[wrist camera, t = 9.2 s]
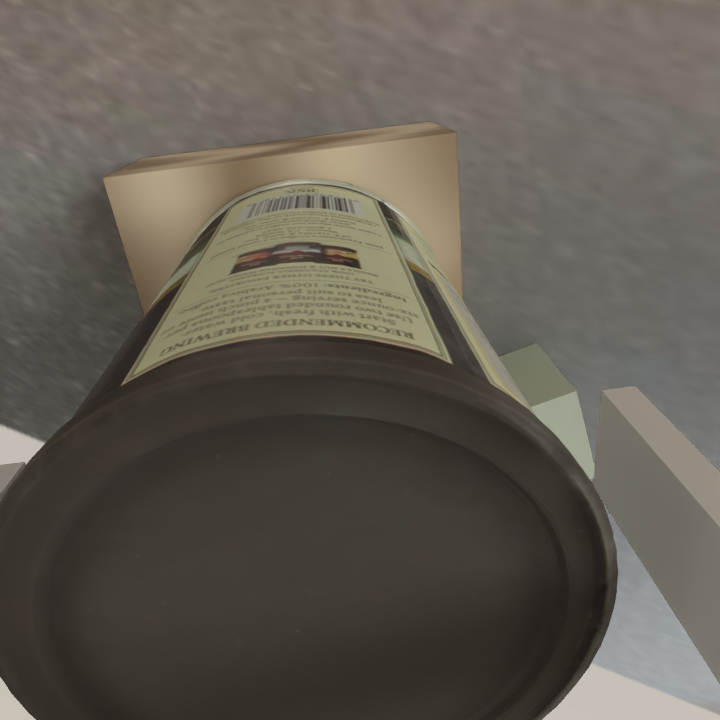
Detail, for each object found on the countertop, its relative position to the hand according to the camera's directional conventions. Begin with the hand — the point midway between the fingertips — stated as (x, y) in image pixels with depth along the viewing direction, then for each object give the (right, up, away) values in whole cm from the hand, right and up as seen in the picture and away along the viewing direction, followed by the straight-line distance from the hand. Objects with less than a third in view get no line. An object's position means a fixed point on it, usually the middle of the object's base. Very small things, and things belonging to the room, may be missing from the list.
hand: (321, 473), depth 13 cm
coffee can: (-1, +4, +9) cm, 10 cm away
